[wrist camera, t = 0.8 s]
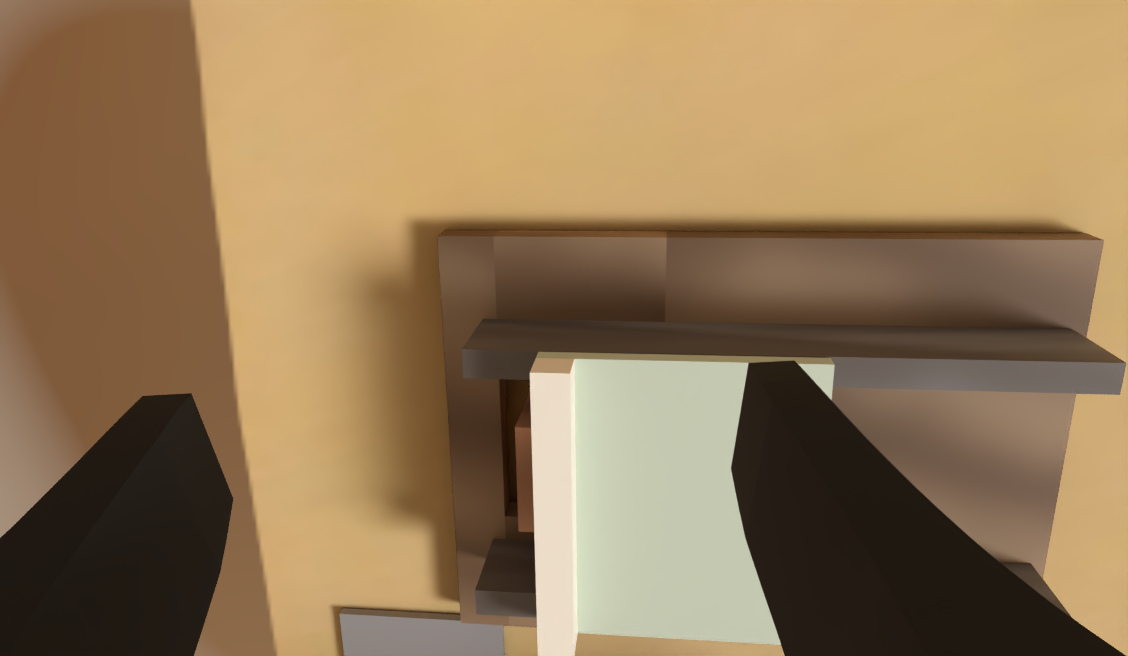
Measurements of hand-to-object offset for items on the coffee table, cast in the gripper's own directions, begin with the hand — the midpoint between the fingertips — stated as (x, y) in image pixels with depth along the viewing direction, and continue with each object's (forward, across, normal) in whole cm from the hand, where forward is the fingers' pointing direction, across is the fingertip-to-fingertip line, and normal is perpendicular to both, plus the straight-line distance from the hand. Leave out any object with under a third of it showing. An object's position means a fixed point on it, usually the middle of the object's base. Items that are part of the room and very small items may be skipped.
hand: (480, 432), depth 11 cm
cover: (+10, -5, +14) cm, 17 cm away
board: (+14, -9, +15) cm, 22 cm away
